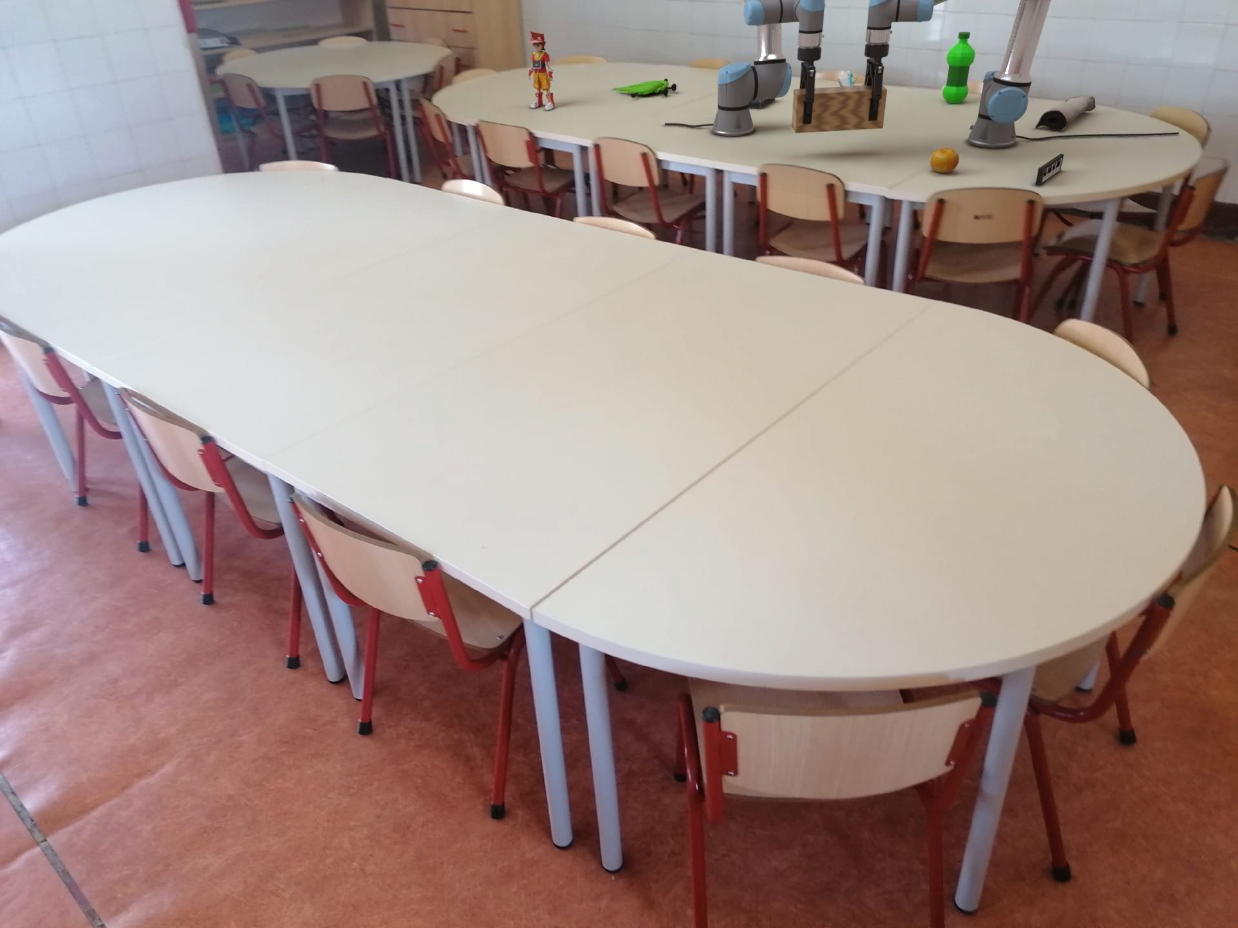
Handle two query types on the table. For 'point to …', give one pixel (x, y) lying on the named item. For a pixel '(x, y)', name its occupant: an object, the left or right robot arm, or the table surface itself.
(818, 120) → the box
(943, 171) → the fruit
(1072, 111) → the rolled mat
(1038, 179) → the midi keyboard
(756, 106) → the disk drive
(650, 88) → the toy
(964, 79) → the plastic bottle
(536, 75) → the toy
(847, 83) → the anatomical model
